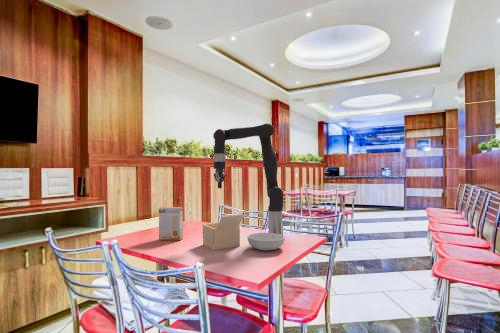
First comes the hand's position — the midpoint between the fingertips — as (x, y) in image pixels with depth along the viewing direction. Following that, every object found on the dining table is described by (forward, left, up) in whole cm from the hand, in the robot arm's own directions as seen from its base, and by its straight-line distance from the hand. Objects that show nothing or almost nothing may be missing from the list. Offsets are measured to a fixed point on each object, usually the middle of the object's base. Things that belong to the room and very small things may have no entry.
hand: (219, 188), depth 180 cm
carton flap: (-15, +18, -17) cm, 29 cm away
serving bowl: (-33, +9, -33) cm, 48 cm away
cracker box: (+31, +8, -33) cm, 46 cm away
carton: (-6, +11, -33) cm, 35 cm away
